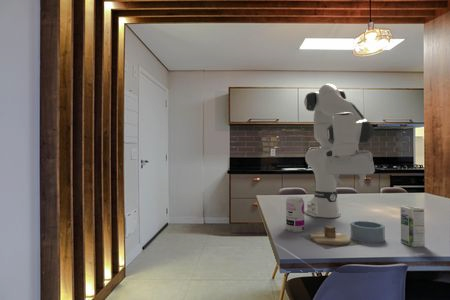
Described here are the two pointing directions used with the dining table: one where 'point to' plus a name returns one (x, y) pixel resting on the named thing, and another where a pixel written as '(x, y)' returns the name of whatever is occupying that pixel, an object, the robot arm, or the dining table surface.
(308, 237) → the charcoal mat
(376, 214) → the dining table surface
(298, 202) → the supplement can
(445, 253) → the dining table surface
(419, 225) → the syrup box
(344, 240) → the birch lid
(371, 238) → the slate bowl
